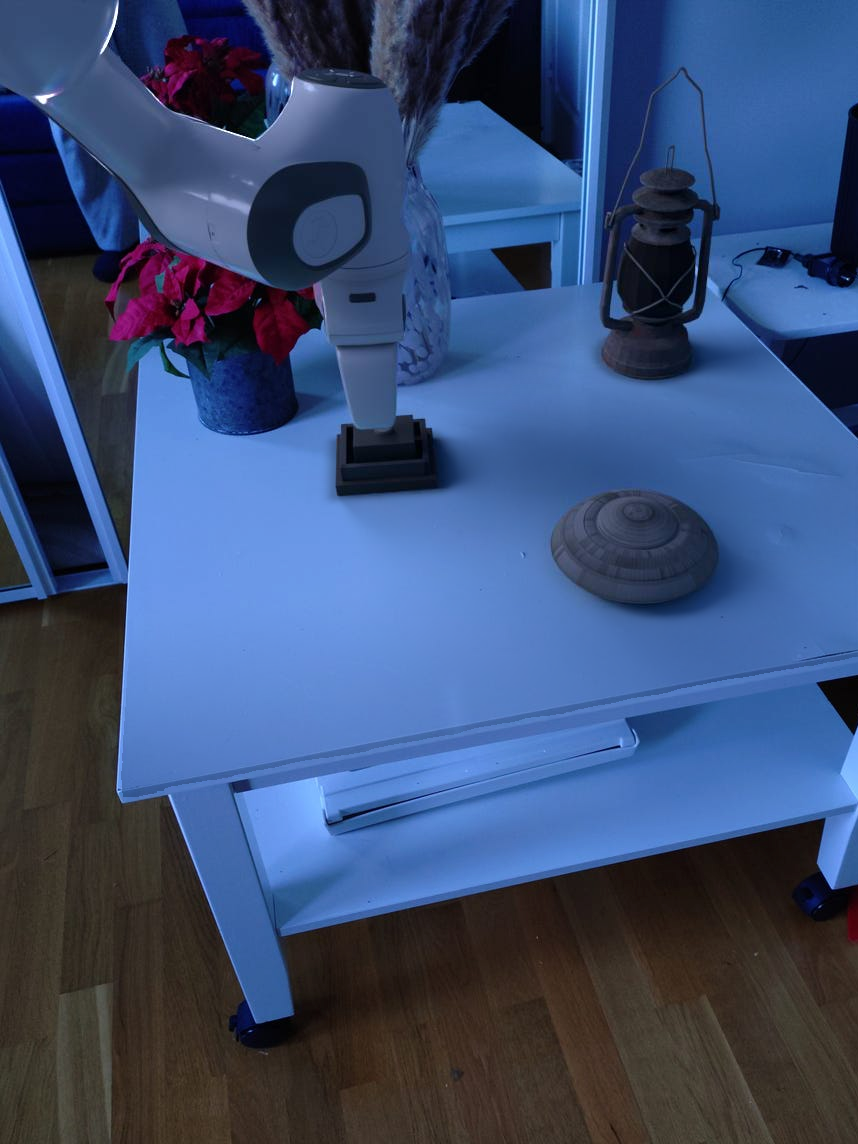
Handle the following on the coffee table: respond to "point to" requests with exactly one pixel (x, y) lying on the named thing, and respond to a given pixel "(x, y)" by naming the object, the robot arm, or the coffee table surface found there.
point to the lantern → (657, 269)
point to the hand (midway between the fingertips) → (377, 416)
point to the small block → (386, 442)
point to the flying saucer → (635, 546)
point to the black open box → (385, 466)
